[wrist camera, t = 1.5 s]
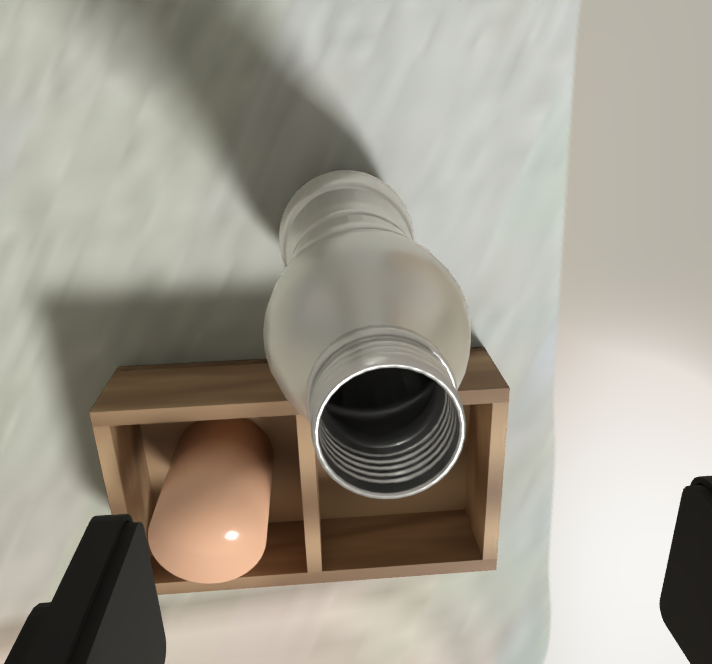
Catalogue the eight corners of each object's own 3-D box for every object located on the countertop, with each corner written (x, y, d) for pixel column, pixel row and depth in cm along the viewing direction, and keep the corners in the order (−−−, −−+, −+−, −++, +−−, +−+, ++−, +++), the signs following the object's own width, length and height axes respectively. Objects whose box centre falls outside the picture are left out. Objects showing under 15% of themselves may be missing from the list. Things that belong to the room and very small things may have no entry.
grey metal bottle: (308, 305, 34) (308, 582, 16) (260, 186, 32) (196, 353, 13) (421, 266, 34) (555, 504, 16) (383, 142, 31) (490, 253, 13)
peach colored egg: (169, 417, 36) (139, 494, 29) (269, 411, 36) (261, 486, 30) (182, 498, 38) (157, 587, 32) (277, 492, 38) (270, 579, 32)
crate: (117, 366, 35) (89, 412, 30) (483, 346, 36) (509, 387, 32) (150, 534, 40) (129, 596, 35) (474, 512, 41) (496, 569, 36)
